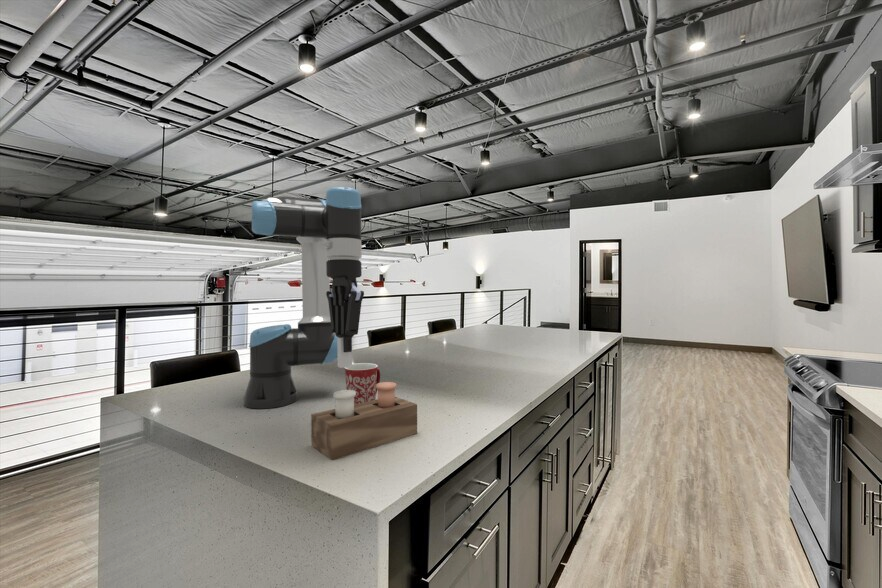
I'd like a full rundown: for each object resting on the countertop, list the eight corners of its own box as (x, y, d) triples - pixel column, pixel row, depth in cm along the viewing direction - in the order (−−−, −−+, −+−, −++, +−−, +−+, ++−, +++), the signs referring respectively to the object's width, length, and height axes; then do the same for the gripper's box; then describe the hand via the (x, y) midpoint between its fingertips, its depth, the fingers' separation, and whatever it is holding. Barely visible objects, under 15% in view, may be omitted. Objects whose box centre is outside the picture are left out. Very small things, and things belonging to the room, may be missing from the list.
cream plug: (329, 422, 87) (329, 392, 87) (349, 417, 90) (349, 388, 90) (340, 427, 83) (339, 396, 83) (359, 422, 86) (359, 392, 86)
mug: (363, 422, 102) (363, 370, 102) (337, 416, 106) (337, 367, 106) (392, 408, 113) (391, 362, 113) (367, 404, 117) (367, 359, 117)
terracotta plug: (372, 411, 94) (372, 384, 94) (389, 407, 97) (388, 381, 97) (383, 416, 90) (383, 388, 90) (400, 412, 94) (400, 384, 94)
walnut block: (311, 445, 87) (311, 414, 86) (393, 422, 101) (393, 395, 101) (332, 460, 79) (332, 425, 79) (417, 433, 94) (417, 404, 94)
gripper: (315, 260, 88) (315, 364, 88) (342, 256, 79) (343, 373, 79) (345, 262, 93) (345, 360, 93) (374, 258, 84) (375, 368, 84)
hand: (344, 366), depth 86 cm, fingers closed
